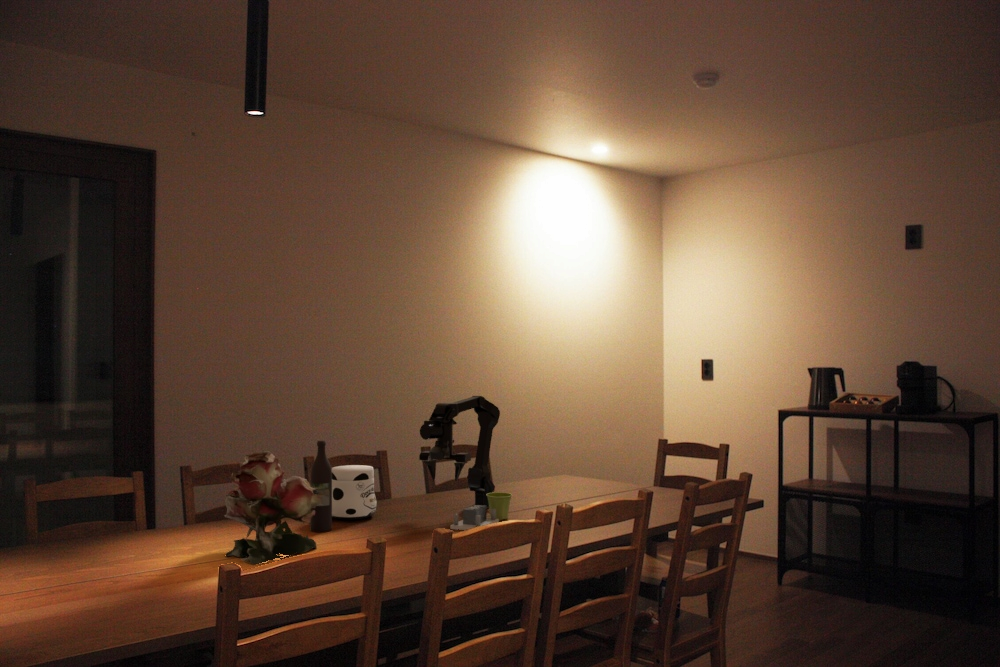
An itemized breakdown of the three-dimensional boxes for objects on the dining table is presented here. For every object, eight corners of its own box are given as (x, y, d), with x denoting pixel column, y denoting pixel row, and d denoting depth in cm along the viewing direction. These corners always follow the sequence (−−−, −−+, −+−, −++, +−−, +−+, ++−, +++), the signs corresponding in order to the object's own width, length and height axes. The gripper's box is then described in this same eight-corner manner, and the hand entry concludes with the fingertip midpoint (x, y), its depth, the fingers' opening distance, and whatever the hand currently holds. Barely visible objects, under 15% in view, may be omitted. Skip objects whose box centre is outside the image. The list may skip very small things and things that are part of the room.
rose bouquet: (330, 545, 246) (331, 448, 247) (258, 567, 221) (259, 458, 222) (270, 536, 259) (271, 444, 260) (196, 556, 234) (197, 453, 234)
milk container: (381, 520, 284) (381, 469, 284) (332, 524, 277) (332, 472, 278) (370, 511, 300) (370, 463, 300) (324, 515, 293) (324, 466, 294)
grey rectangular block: (473, 519, 279) (473, 504, 279) (486, 520, 277) (486, 505, 278) (462, 524, 271) (462, 509, 271) (476, 525, 269) (476, 510, 269)
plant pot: (513, 516, 290) (513, 492, 290) (511, 521, 281) (511, 496, 281) (487, 515, 291) (487, 492, 291) (484, 521, 282) (484, 496, 282)
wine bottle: (305, 531, 266) (306, 441, 267) (319, 527, 272) (320, 439, 273) (322, 533, 263) (322, 442, 264) (336, 529, 269) (336, 440, 270)
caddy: (470, 519, 284) (470, 506, 284) (498, 522, 279) (498, 508, 280) (450, 528, 269) (450, 514, 269) (480, 531, 265) (480, 517, 265)
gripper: (411, 438, 288) (411, 482, 287) (458, 440, 281) (458, 485, 280) (426, 435, 298) (426, 477, 298) (471, 437, 291) (471, 480, 290)
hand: (444, 480), depth 291 cm, fingers open, 9 cm apart
